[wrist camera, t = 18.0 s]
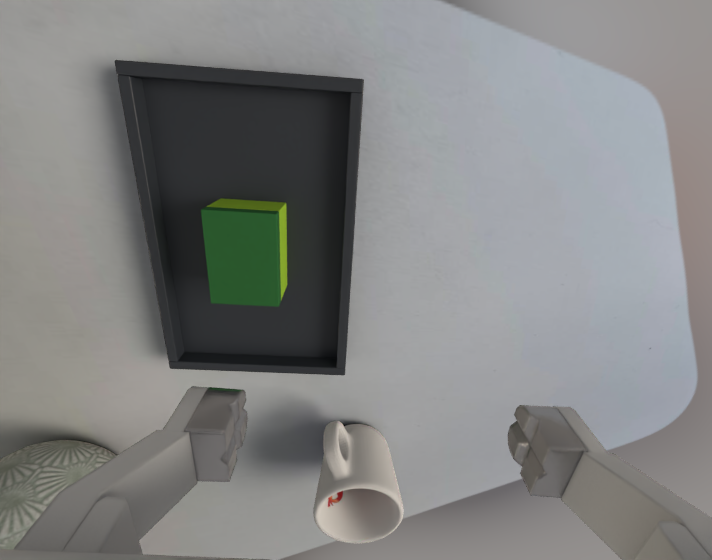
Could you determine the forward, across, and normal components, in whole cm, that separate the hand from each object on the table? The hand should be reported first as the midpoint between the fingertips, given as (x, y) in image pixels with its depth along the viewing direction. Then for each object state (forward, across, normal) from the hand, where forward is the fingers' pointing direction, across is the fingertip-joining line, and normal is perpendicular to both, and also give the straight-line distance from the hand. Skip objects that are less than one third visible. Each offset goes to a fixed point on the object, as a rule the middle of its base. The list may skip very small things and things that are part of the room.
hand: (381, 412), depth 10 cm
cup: (+20, 0, +22) cm, 30 cm away
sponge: (+19, +9, +2) cm, 21 cm away
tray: (+20, +9, +2) cm, 21 cm away
